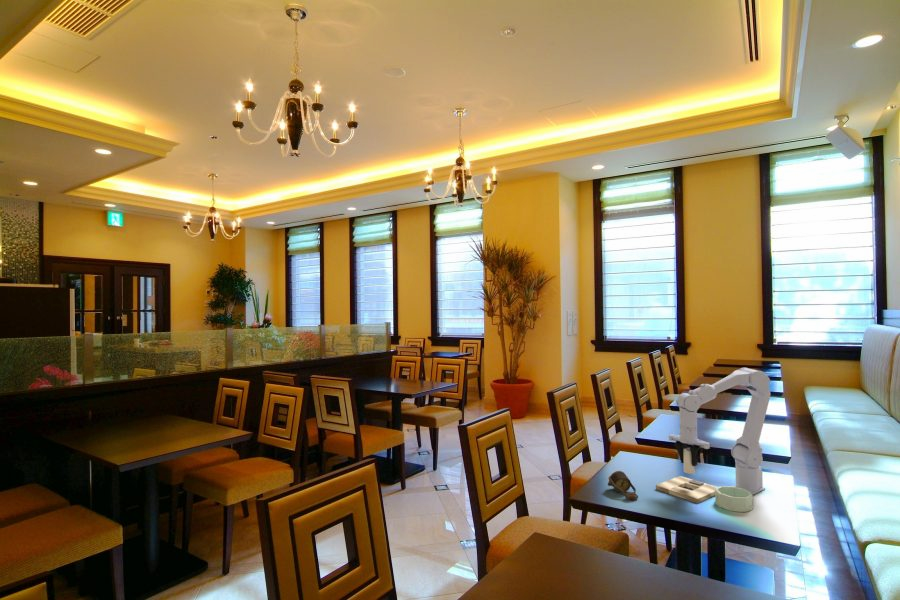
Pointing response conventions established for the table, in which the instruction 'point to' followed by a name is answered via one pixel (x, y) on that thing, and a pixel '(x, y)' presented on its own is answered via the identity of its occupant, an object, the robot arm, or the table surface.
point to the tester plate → (677, 489)
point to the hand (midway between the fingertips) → (689, 464)
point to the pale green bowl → (733, 499)
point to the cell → (688, 461)
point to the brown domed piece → (622, 484)
